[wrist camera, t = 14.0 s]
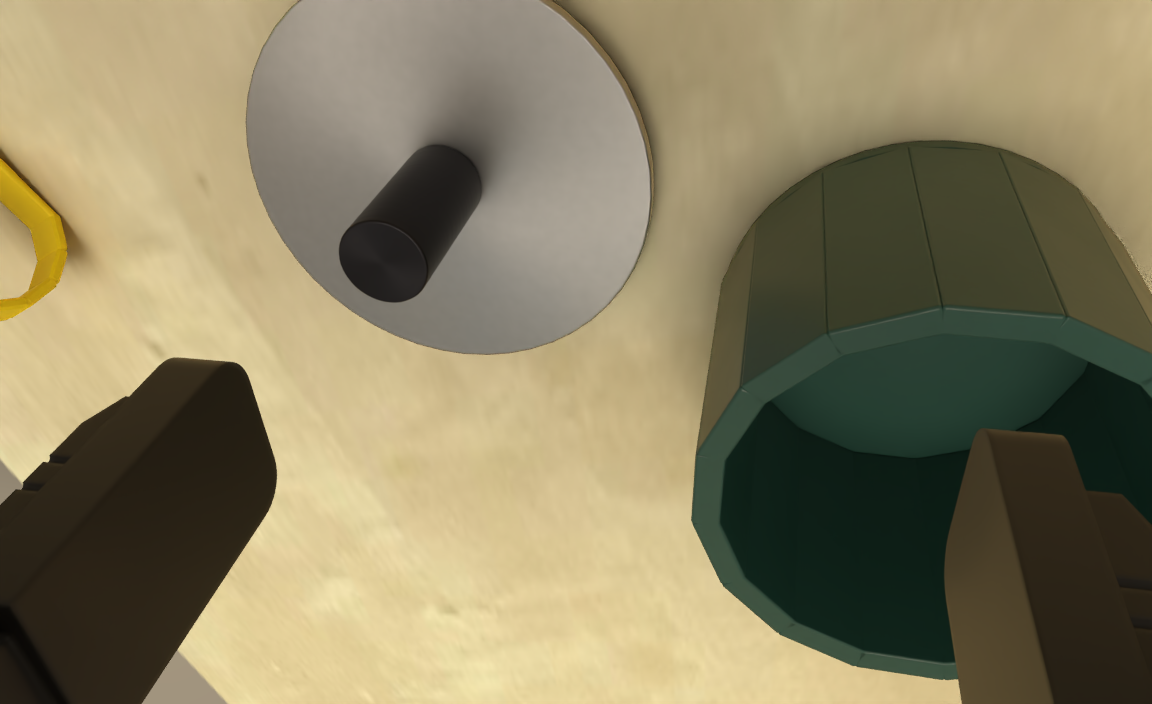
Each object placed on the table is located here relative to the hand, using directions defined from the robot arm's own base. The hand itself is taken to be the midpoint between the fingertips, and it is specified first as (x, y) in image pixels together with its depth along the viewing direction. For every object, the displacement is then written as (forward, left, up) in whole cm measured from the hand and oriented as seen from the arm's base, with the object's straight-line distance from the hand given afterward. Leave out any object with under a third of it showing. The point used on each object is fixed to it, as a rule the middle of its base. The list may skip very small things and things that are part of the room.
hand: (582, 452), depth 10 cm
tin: (+7, -9, -17) cm, 20 cm away
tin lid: (-7, -5, -17) cm, 19 cm away
